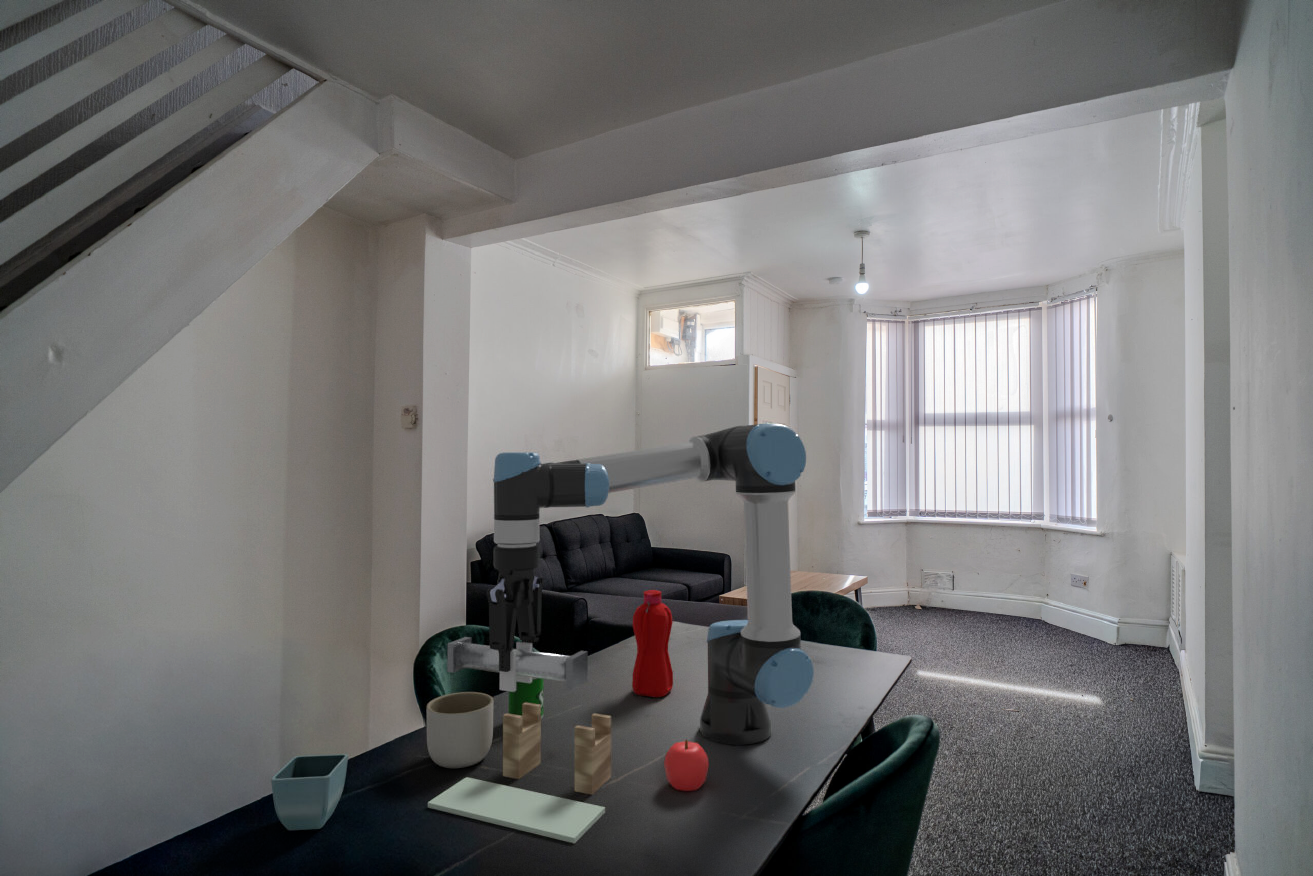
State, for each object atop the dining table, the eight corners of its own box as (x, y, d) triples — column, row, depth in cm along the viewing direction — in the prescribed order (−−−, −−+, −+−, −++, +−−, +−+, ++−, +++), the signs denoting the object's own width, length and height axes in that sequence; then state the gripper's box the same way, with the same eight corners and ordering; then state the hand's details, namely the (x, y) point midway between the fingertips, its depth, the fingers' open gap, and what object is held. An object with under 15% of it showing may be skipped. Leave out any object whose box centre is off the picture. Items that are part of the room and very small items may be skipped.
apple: (664, 775, 127) (664, 731, 127) (708, 775, 127) (707, 731, 127) (663, 796, 119) (663, 749, 119) (710, 796, 119) (709, 749, 119)
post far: (540, 763, 132) (540, 704, 132) (519, 779, 125) (519, 717, 126) (525, 760, 133) (525, 702, 134) (502, 776, 127) (503, 715, 127)
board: (605, 812, 114) (605, 807, 114) (574, 843, 104) (574, 838, 104) (466, 781, 125) (466, 777, 125) (427, 807, 115) (427, 802, 115)
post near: (611, 777, 126) (611, 716, 126) (592, 794, 120) (592, 730, 120) (594, 773, 128) (594, 713, 128) (574, 791, 121) (574, 727, 121)
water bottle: (625, 698, 168) (625, 594, 169) (643, 684, 178) (642, 586, 179) (660, 702, 165) (660, 596, 165) (676, 688, 175) (676, 588, 176)
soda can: (535, 730, 148) (536, 673, 149) (502, 727, 150) (503, 671, 150) (548, 717, 156) (548, 663, 156) (516, 714, 157) (516, 661, 157)
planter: (432, 780, 125) (432, 718, 126) (421, 754, 136) (421, 698, 137) (500, 765, 131) (500, 707, 131) (484, 742, 142) (484, 688, 142)
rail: (587, 681, 113) (587, 651, 113) (572, 690, 108) (572, 659, 108) (465, 664, 122) (465, 636, 122) (447, 672, 118) (447, 643, 118)
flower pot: (293, 810, 115) (294, 755, 115) (348, 807, 115) (349, 753, 116) (268, 839, 106) (269, 779, 106) (328, 836, 107) (329, 777, 107)
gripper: (526, 538, 125) (525, 669, 124) (465, 549, 109) (464, 699, 109) (562, 539, 122) (562, 673, 122) (505, 551, 107) (504, 705, 106)
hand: (516, 685), depth 115 cm, fingers closed on rail, 4 cm apart
